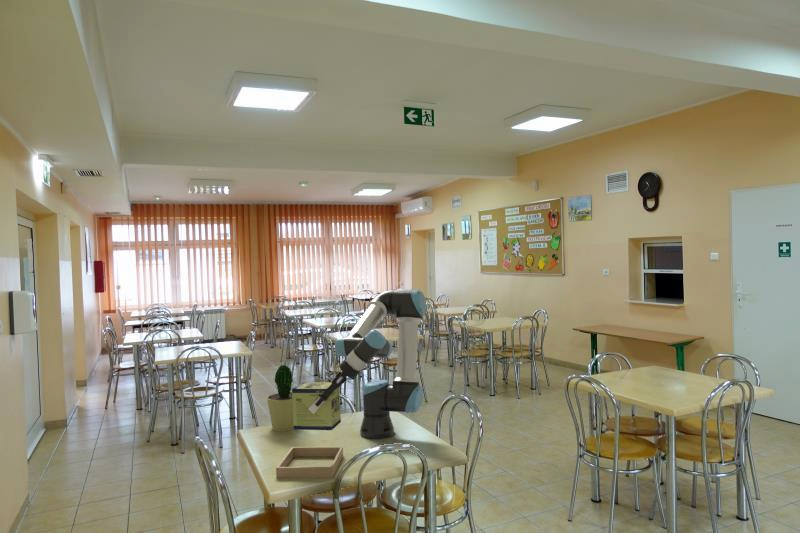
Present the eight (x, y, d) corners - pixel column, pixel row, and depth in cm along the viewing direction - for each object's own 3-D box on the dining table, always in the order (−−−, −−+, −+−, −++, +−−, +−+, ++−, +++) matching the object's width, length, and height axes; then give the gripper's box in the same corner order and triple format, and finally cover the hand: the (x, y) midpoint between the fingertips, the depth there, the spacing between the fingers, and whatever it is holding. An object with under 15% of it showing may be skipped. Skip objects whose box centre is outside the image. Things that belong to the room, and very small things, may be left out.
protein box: (332, 430, 200) (330, 388, 200) (293, 430, 203) (290, 388, 203) (341, 422, 210) (339, 381, 210) (303, 421, 213) (301, 382, 213)
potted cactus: (265, 425, 261) (263, 362, 260) (297, 420, 267) (295, 359, 267) (271, 434, 247) (269, 368, 246) (304, 429, 253) (302, 364, 252)
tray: (343, 455, 217) (342, 446, 217) (332, 477, 196) (332, 467, 196) (292, 455, 219) (291, 447, 219) (276, 477, 197) (276, 467, 197)
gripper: (355, 378, 193) (314, 423, 194) (365, 365, 216) (329, 405, 218) (339, 364, 193) (299, 408, 195) (351, 352, 217) (315, 392, 218)
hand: (314, 406), depth 206 cm, fingers closed on protein box, 11 cm apart
